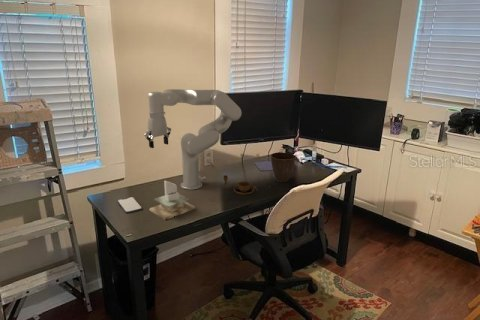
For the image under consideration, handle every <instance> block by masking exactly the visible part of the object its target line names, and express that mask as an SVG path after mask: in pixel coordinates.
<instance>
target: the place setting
mask: <svg viewBox="0 0 480 320" xmlns="http://www.w3.org/2000/svg"><path fill="white" fill-rule="evenodd" d="M228 178H229V177H228V175H225V174H224V175H223V181H224V185H225V186H226V185H227V181H228ZM237 189H238V190H239V191H240V192H239V191H237ZM249 190H252V191H250V192H248V191H249ZM255 190H256V191H257V192H259V190H258V188H257V186H255V185H253V186H252V185H251V183H250V182H249V181H240V182H238V183H237V185H236V186H234V187H233V191H234V193H235V194H237V195H242V196H247V195H251V194H253V193H254V192H255Z"/></svg>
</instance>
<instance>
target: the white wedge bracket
mask: <svg viewBox="0 0 480 320" xmlns="http://www.w3.org/2000/svg"><path fill="white" fill-rule="evenodd" d="M163 183H164V184H163V185H164V196H165V199H166V200H167V201H172V200H176V199H179V194H180V192H178V188H177V187H178V186H177V184H175V183H173V182H171V181H168V180H163Z"/></svg>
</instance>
